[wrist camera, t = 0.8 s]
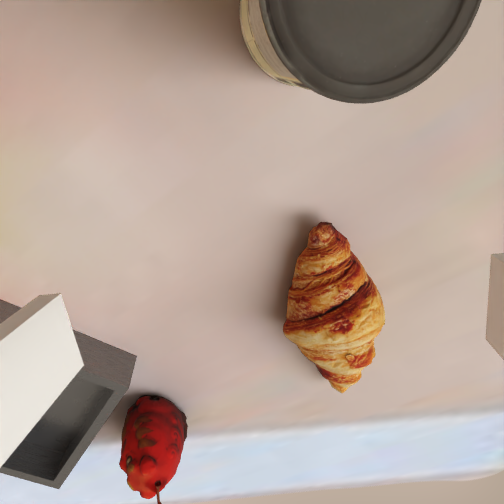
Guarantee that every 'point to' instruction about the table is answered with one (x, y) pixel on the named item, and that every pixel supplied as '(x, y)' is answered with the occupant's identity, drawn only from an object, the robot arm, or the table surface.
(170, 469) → the red clay folk toy
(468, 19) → the coffee can
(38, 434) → the tray
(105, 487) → the table surface
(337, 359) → the croissant
